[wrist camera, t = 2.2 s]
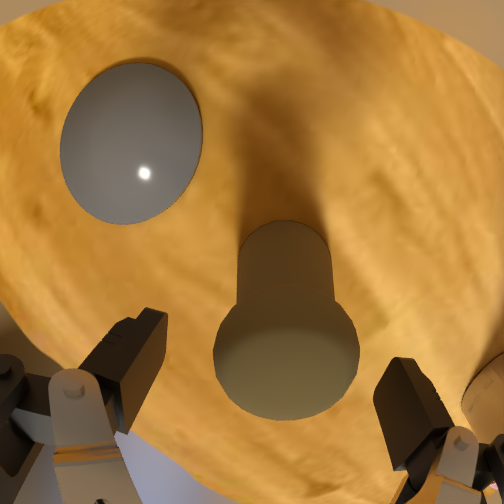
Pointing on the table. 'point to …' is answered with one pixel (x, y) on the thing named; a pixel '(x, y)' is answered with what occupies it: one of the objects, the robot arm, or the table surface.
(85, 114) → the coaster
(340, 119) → the table surface
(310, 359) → the olive game pawn
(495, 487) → the lily
